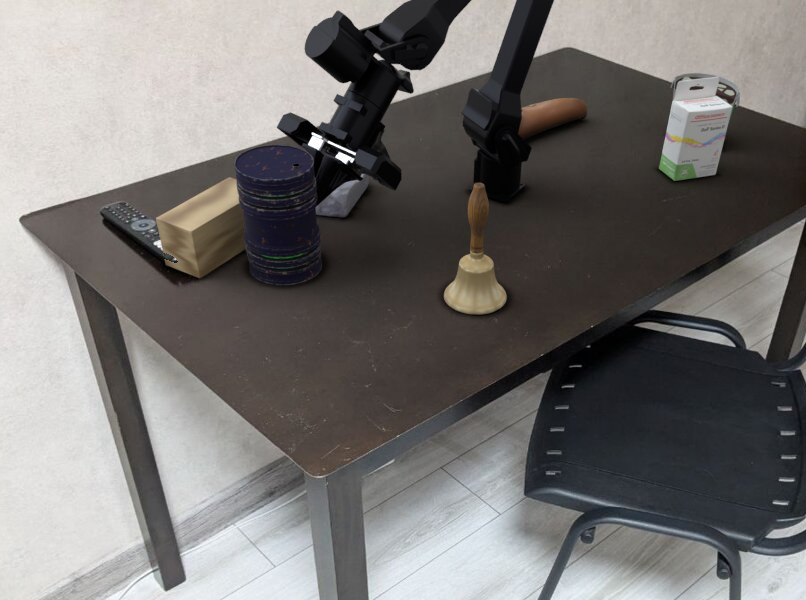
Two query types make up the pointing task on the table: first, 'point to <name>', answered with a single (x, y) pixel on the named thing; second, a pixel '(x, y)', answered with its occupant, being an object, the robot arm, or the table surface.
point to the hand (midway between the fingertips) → (308, 207)
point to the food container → (724, 90)
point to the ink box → (695, 130)
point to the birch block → (204, 230)
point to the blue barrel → (279, 213)
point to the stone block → (343, 198)
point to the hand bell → (476, 266)
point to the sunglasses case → (550, 115)
